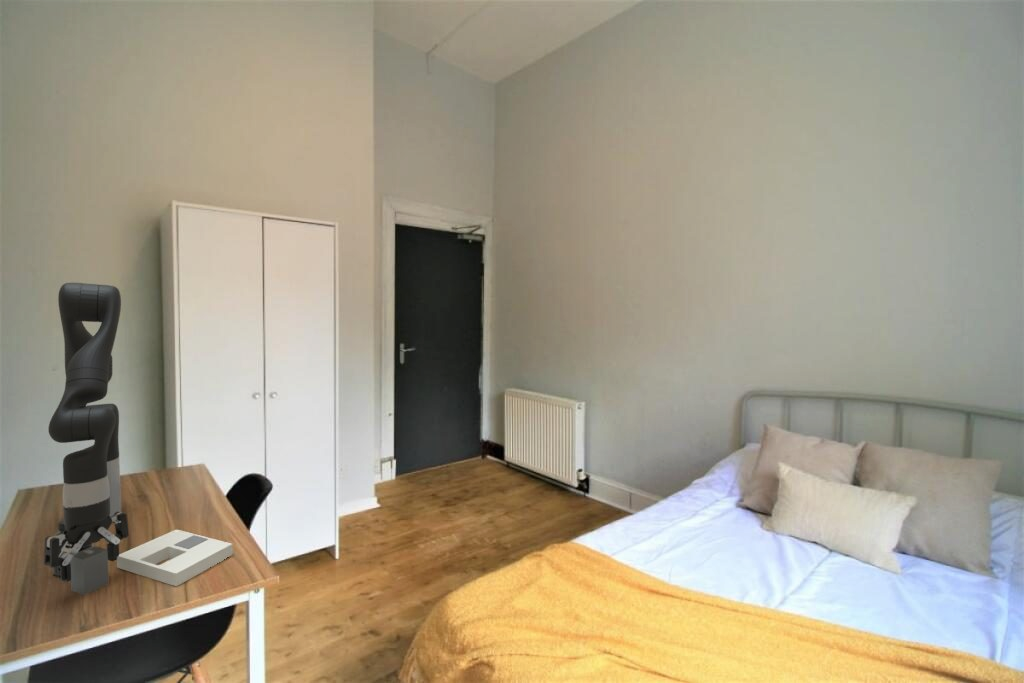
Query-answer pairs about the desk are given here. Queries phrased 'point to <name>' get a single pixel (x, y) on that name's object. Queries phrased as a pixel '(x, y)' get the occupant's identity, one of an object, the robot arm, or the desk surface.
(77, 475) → the robot arm
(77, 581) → the charger
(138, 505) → the desk surface
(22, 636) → the desk surface
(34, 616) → the desk surface
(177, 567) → the outlet plate
